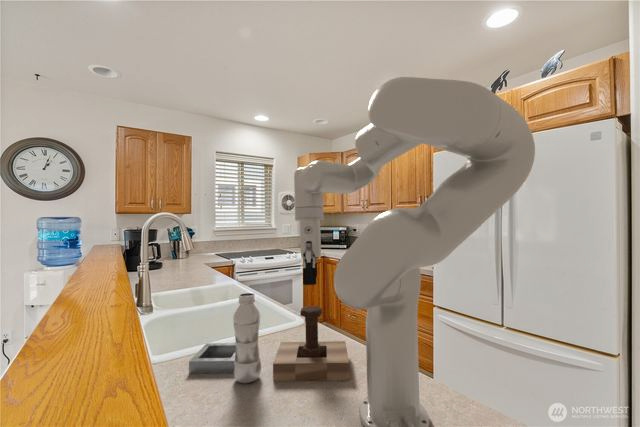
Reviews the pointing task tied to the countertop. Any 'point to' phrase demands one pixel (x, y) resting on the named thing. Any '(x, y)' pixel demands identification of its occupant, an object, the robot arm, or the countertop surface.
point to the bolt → (311, 331)
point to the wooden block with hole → (311, 362)
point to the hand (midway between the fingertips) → (310, 280)
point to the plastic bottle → (246, 340)
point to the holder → (213, 359)
